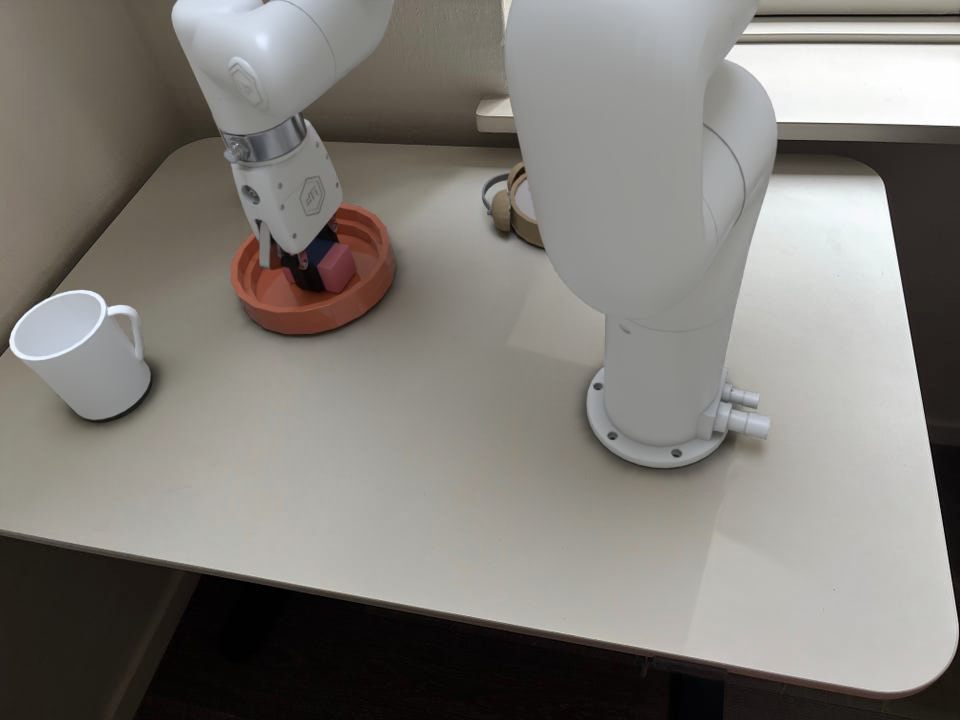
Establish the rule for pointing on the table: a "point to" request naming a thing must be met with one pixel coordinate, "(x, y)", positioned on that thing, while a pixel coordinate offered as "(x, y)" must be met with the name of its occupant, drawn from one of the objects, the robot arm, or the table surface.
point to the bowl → (317, 312)
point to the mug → (85, 353)
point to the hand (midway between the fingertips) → (321, 272)
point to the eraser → (329, 264)
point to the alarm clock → (514, 205)
